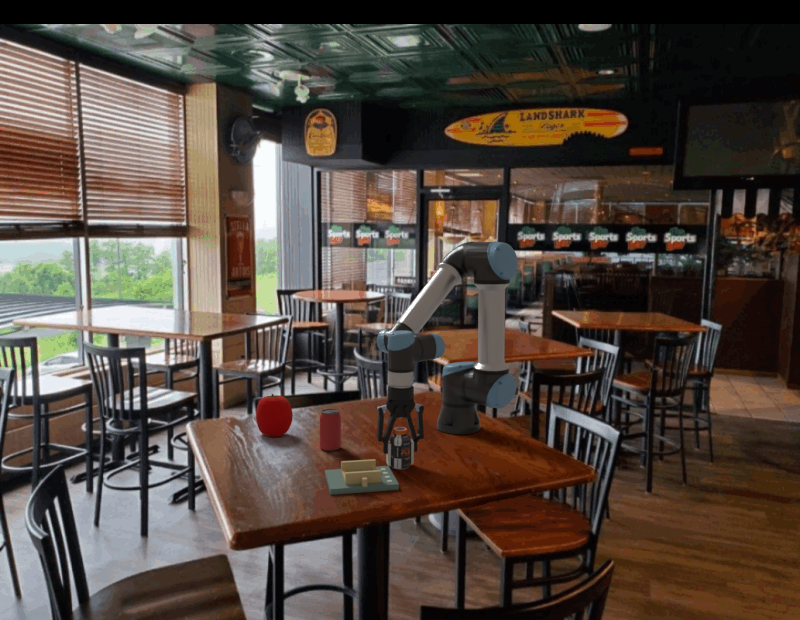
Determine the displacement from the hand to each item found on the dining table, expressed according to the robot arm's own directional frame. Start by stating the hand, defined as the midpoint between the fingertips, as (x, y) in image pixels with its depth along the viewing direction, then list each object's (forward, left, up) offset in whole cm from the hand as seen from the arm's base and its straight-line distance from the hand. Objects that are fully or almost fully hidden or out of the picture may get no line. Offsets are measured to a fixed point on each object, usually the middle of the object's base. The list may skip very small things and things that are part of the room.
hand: (400, 463), depth 187 cm
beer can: (+18, -20, -1) cm, 27 cm away
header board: (+13, +10, -1) cm, 16 cm away
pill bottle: (0, 0, -1) cm, 1 cm away
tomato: (+35, -37, -1) cm, 51 cm away
